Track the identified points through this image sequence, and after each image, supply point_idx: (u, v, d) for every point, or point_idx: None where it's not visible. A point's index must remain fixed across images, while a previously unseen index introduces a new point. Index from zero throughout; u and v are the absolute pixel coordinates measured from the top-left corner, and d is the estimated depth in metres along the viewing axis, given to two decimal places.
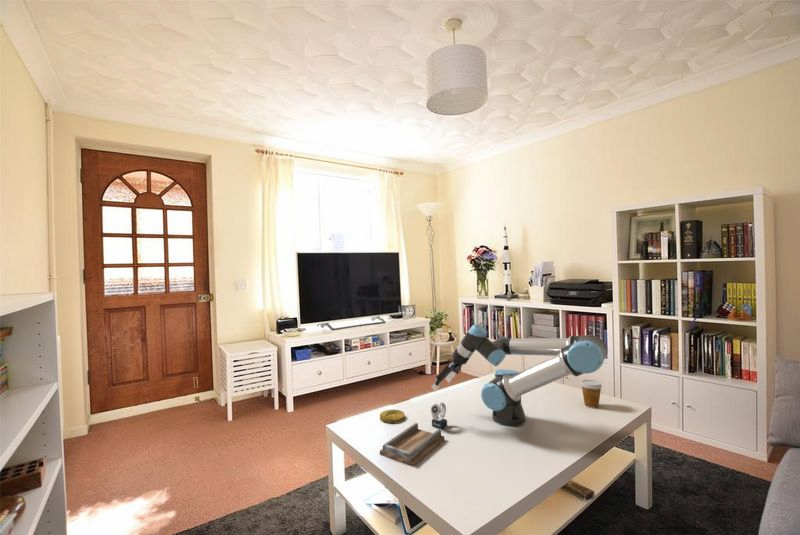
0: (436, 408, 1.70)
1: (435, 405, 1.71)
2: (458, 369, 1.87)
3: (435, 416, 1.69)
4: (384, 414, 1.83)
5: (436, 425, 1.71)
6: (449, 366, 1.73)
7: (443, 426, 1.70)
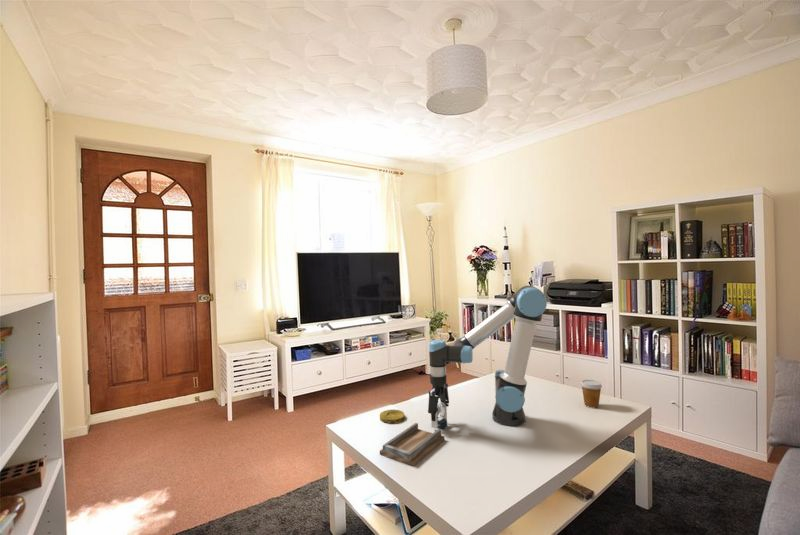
0: None
1: None
2: None
3: None
4: (384, 414, 1.83)
5: None
6: (431, 395, 1.67)
7: (443, 426, 1.70)
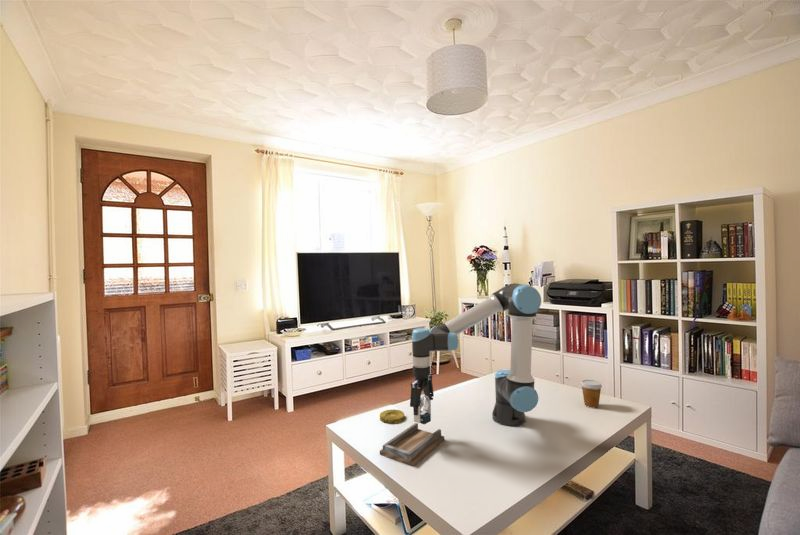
0: None
1: None
2: (431, 395, 1.65)
3: None
4: (384, 414, 1.83)
5: None
6: (413, 387, 1.55)
7: (426, 420, 1.59)
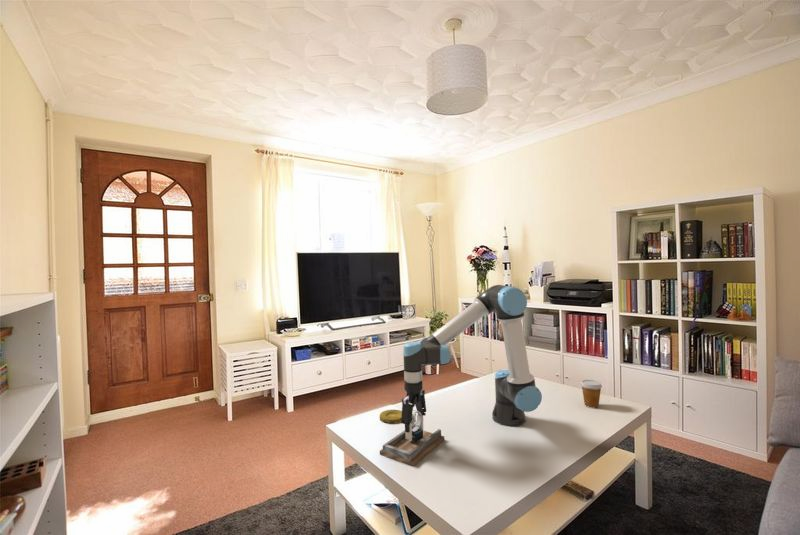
0: None
1: None
2: (423, 410, 1.60)
3: None
4: (384, 414, 1.83)
5: None
6: (404, 403, 1.50)
7: (418, 437, 1.53)
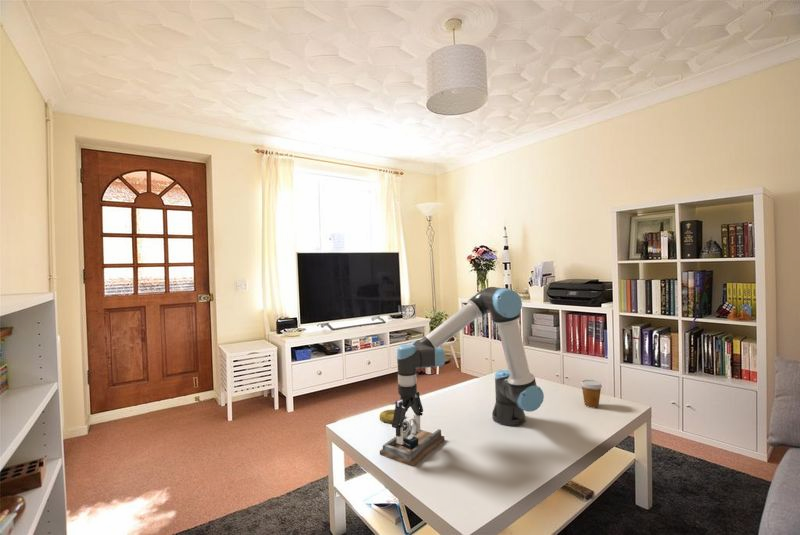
0: (405, 424, 1.50)
1: (405, 421, 1.51)
2: (420, 410, 1.58)
3: (404, 434, 1.49)
4: (384, 414, 1.83)
5: (405, 444, 1.51)
6: (398, 405, 1.46)
7: (413, 445, 1.50)
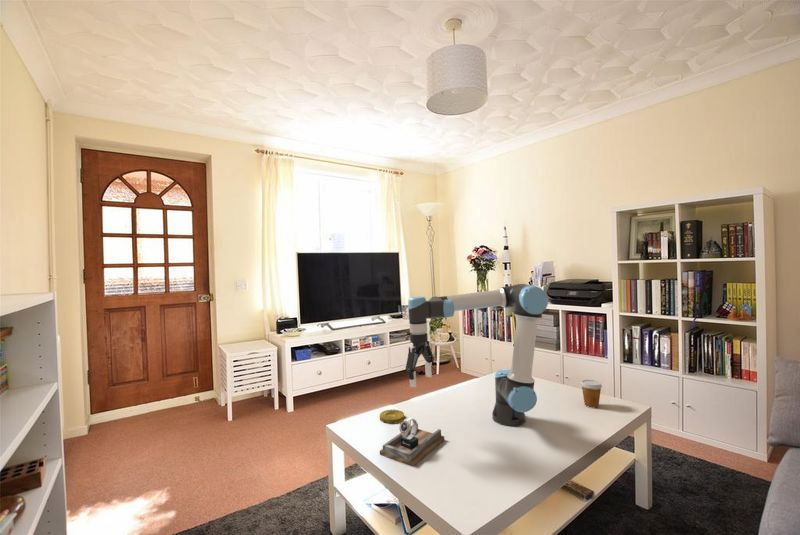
0: (405, 425, 1.50)
1: (404, 422, 1.51)
2: (431, 357, 1.69)
3: (404, 434, 1.49)
4: (384, 414, 1.83)
5: (405, 445, 1.51)
6: (411, 351, 1.56)
7: (413, 446, 1.50)
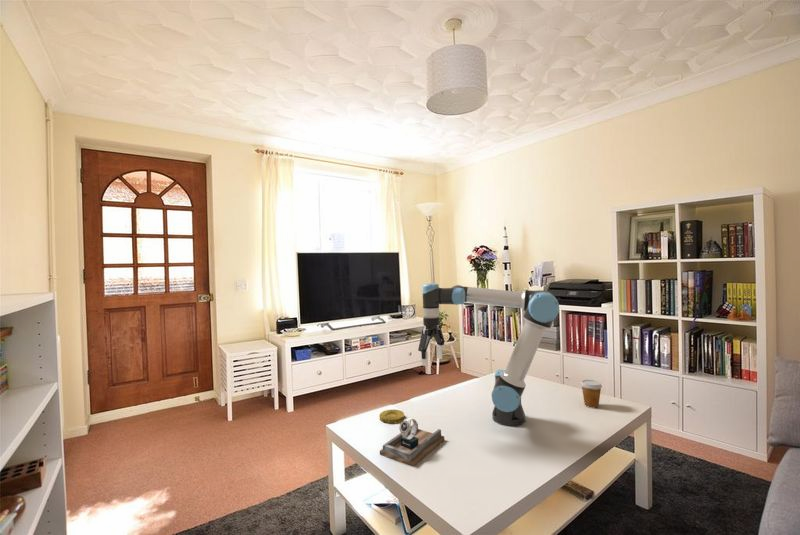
0: (405, 425, 1.50)
1: (404, 422, 1.51)
2: (442, 341, 1.82)
3: (404, 434, 1.49)
4: (384, 414, 1.83)
5: (405, 445, 1.51)
6: (424, 333, 1.70)
7: (413, 446, 1.50)
